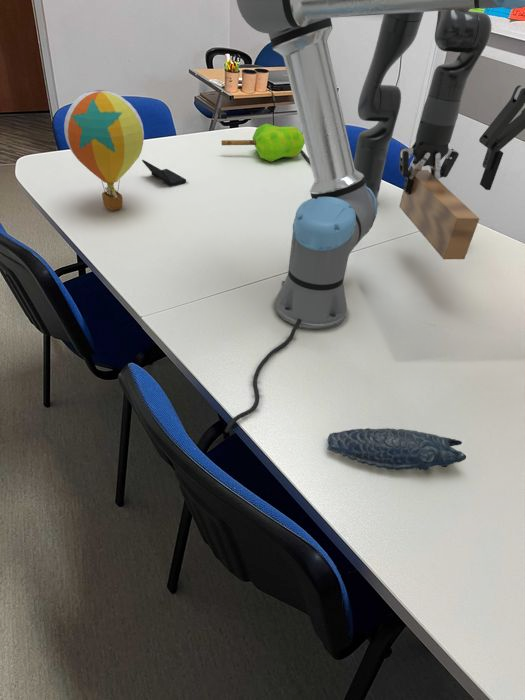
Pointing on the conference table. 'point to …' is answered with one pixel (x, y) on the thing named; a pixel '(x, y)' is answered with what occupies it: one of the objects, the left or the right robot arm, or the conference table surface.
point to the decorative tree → (273, 142)
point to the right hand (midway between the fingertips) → (417, 192)
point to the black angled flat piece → (165, 175)
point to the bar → (439, 216)
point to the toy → (105, 138)
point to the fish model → (395, 448)
